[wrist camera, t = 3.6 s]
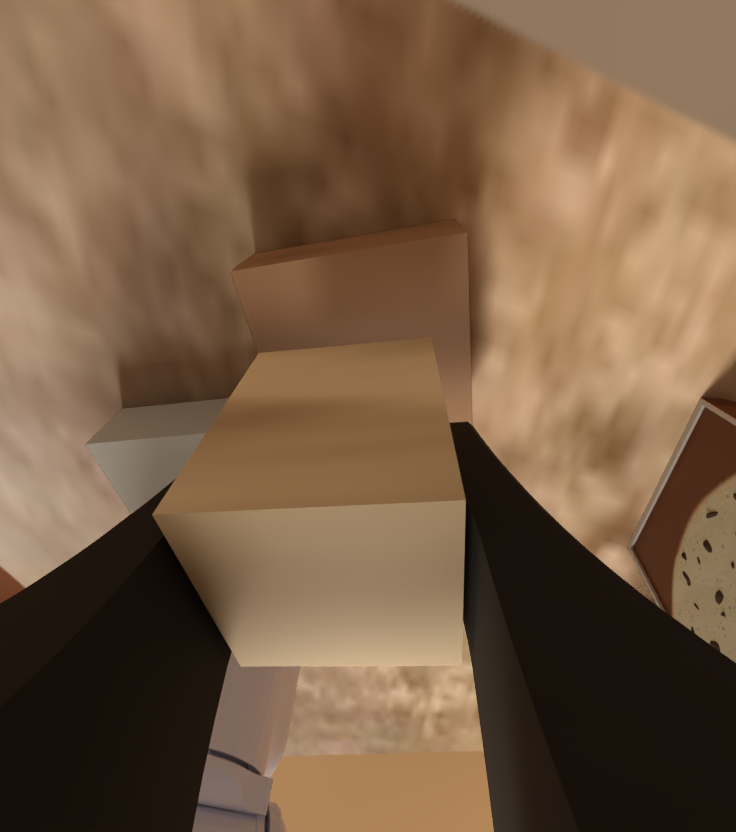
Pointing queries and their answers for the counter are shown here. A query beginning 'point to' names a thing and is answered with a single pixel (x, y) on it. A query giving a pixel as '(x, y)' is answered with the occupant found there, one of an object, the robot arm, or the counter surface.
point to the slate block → (150, 446)
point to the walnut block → (368, 298)
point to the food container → (695, 529)
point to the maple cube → (328, 511)
